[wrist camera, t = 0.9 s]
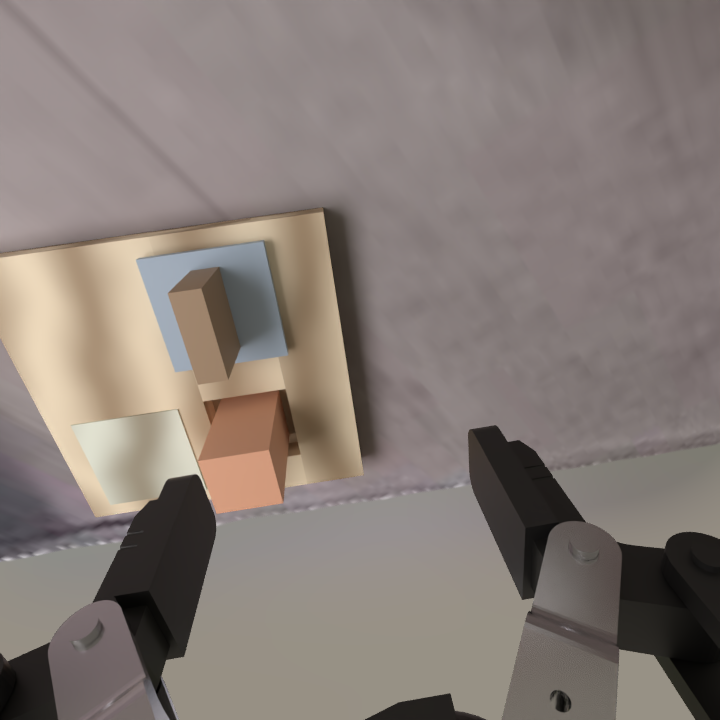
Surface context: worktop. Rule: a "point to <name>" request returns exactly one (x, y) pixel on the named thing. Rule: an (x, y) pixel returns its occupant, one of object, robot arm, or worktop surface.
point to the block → (246, 452)
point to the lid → (215, 307)
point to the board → (153, 364)
